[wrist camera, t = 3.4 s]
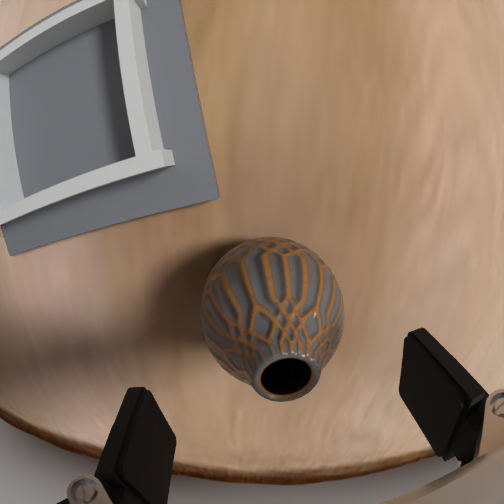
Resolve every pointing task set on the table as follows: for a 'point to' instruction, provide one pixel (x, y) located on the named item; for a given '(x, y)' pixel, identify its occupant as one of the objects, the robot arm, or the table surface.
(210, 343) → the vase
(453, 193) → the table surface
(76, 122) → the holder
